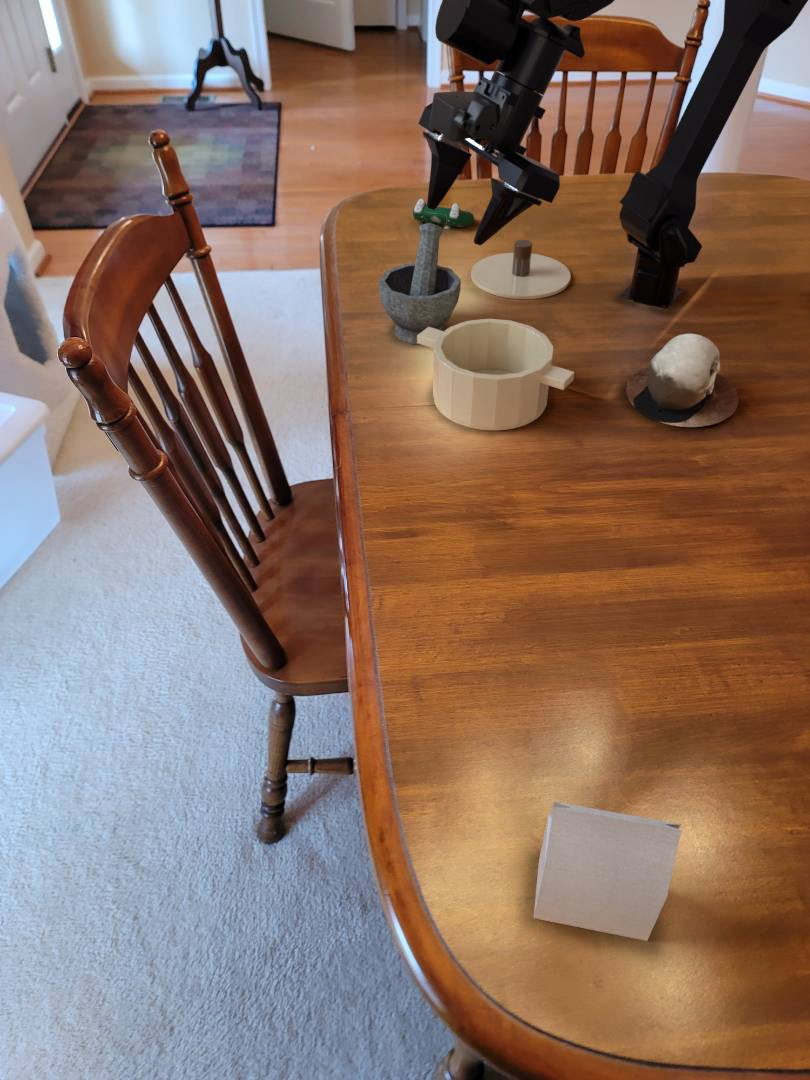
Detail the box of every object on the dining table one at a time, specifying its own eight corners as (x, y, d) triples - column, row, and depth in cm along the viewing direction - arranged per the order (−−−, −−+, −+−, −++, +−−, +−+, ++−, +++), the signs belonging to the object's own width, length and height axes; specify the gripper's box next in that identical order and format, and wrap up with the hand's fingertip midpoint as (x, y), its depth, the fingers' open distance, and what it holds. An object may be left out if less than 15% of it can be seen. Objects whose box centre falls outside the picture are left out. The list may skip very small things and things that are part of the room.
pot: (450, 351, 101) (452, 302, 97) (587, 396, 93) (596, 345, 89) (392, 400, 93) (390, 349, 89) (536, 452, 86) (542, 399, 81)
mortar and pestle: (446, 356, 100) (449, 260, 92) (372, 346, 102) (368, 251, 94) (467, 313, 108) (471, 221, 100) (398, 305, 110) (396, 213, 102)
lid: (500, 252, 122) (503, 215, 118) (586, 274, 116) (591, 236, 113) (452, 287, 114) (453, 249, 110) (542, 313, 108) (546, 274, 104)
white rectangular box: (647, 940, 50) (683, 861, 43) (533, 918, 51) (551, 836, 44) (646, 881, 52) (680, 797, 46) (538, 861, 53) (556, 776, 47)
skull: (655, 346, 99) (726, 304, 91) (699, 420, 100) (773, 386, 91) (599, 383, 93) (669, 342, 84) (646, 462, 93) (720, 429, 85)
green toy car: (415, 232, 132) (404, 215, 126) (421, 209, 132) (411, 191, 126) (470, 240, 129) (462, 224, 124) (476, 217, 129) (468, 199, 124)
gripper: (414, 26, 86) (356, 174, 94) (525, 89, 76) (450, 249, 84) (485, 64, 94) (426, 198, 102) (595, 125, 84) (521, 269, 92)
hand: (453, 225), depth 95 cm, fingers open, 9 cm apart
